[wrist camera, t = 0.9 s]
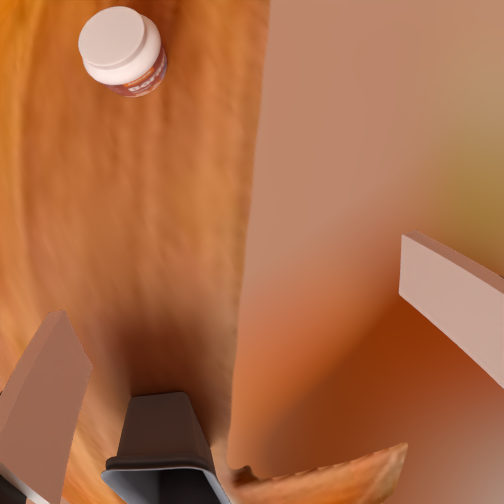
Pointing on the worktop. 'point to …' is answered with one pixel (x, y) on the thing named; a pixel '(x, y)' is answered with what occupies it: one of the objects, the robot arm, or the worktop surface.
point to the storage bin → (163, 455)
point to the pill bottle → (123, 51)
